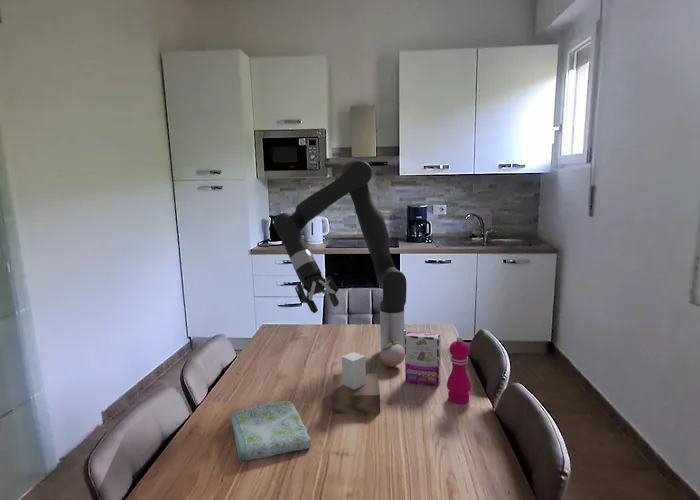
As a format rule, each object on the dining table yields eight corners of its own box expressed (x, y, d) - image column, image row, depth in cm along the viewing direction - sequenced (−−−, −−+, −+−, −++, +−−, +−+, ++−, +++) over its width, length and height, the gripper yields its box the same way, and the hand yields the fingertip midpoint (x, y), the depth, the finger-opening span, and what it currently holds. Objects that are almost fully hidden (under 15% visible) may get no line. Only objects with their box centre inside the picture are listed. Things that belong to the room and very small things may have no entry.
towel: (293, 411, 134) (292, 395, 133) (312, 451, 114) (311, 433, 113) (230, 424, 127) (229, 407, 127) (239, 469, 108) (237, 449, 107)
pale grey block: (354, 379, 140) (353, 351, 139) (365, 384, 137) (365, 356, 135) (342, 384, 137) (341, 356, 135) (354, 389, 133) (353, 361, 132)
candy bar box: (440, 380, 150) (441, 333, 148) (438, 386, 146) (439, 338, 143) (407, 376, 154) (407, 330, 151) (404, 382, 149) (404, 335, 146)
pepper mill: (468, 393, 141) (470, 332, 137) (472, 405, 134) (474, 341, 130) (445, 392, 141) (446, 332, 138) (448, 404, 134) (448, 340, 131)
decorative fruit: (396, 375, 155) (396, 347, 153) (376, 369, 160) (376, 342, 158) (409, 365, 162) (409, 339, 160) (390, 360, 167) (390, 334, 165)
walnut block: (377, 391, 145) (377, 373, 144) (380, 414, 131) (380, 394, 130) (334, 392, 145) (333, 374, 144) (332, 415, 131) (331, 395, 130)
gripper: (292, 264, 143) (313, 309, 138) (327, 257, 152) (348, 298, 147) (283, 276, 148) (303, 319, 143) (317, 268, 157) (338, 308, 152)
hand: (326, 308), depth 145 cm, fingers open, 8 cm apart
